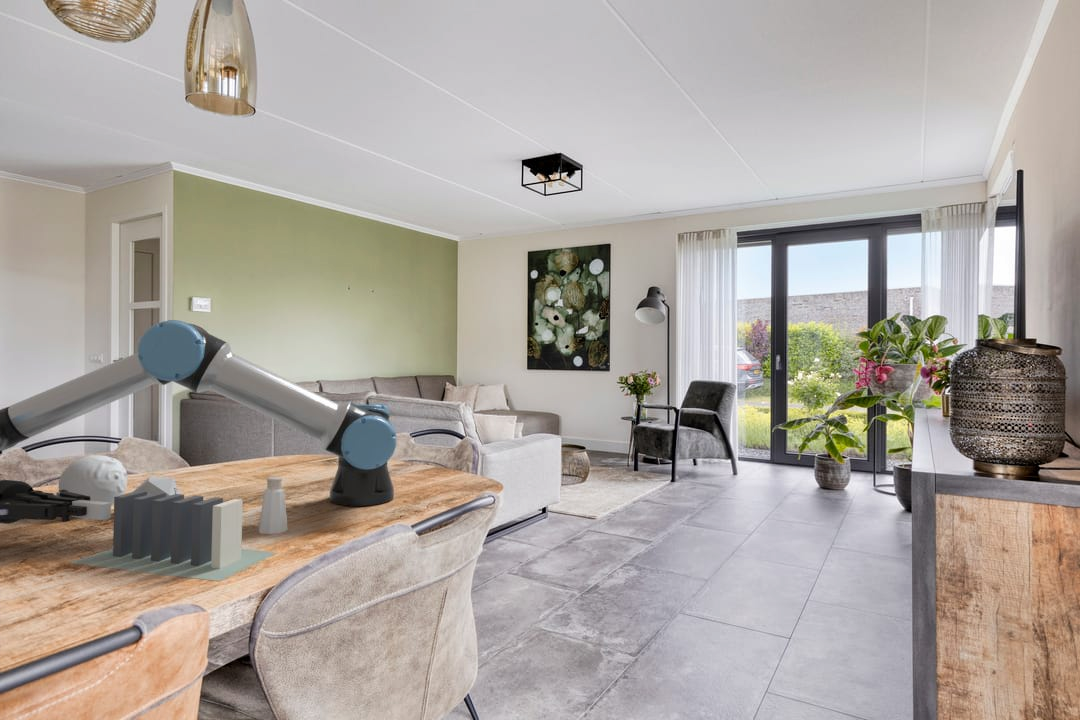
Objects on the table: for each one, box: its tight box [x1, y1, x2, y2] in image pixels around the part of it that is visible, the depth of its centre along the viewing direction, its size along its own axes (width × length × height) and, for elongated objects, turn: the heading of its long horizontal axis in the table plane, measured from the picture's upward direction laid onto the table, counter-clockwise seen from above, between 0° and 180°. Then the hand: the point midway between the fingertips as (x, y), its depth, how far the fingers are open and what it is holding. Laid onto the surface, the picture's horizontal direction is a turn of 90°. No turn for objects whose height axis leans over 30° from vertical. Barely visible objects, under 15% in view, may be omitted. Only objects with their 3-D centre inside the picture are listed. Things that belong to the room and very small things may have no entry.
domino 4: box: [171, 495, 204, 564], centre depth 102 cm, size 2×5×10 cm, turn 168°
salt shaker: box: [258, 475, 288, 535], centre depth 120 cm, size 5×5×11 cm
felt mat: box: [70, 547, 277, 582], centre depth 103 cm, size 28×14×1 cm, turn 78°
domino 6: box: [211, 498, 244, 569], centre depth 101 cm, size 2×5×10 cm, turn 168°
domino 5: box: [191, 496, 224, 566], centre depth 101 cm, size 2×5×10 cm, turn 168°
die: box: [132, 476, 181, 497], centre depth 131 cm, size 8×9×10 cm
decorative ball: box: [58, 454, 128, 506], centre depth 131 cm, size 12×12×12 cm
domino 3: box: [151, 493, 185, 562], centre depth 103 cm, size 2×5×10 cm, turn 168°
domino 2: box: [132, 492, 166, 559], centre depth 104 cm, size 2×5×10 cm, turn 168°
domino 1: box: [112, 491, 147, 557], centre depth 104 cm, size 2×5×10 cm, turn 168°
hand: (106, 511), depth 105 cm, fingers closed
